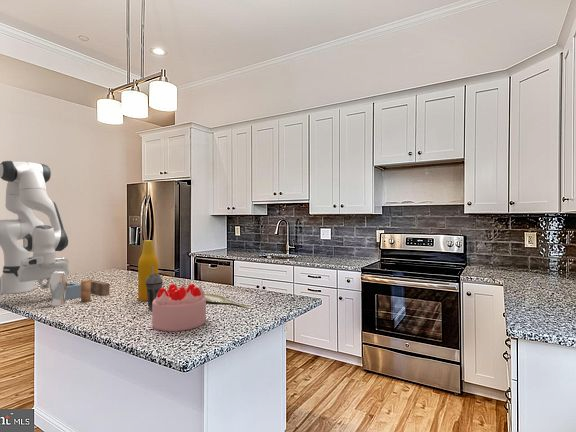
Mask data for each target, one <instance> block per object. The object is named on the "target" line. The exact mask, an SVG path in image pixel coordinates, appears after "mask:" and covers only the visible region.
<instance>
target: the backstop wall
mask: <svg viewBox="0 0 576 432" xmlns="http://www.w3.org/2000/svg"><path fill="white" fill-rule="evenodd" d="M90 280H91V294H94V295H99V296H103V297H105V296H109V295H110V283H108V282H104V281H100V280H95V279H90Z"/></svg>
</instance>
